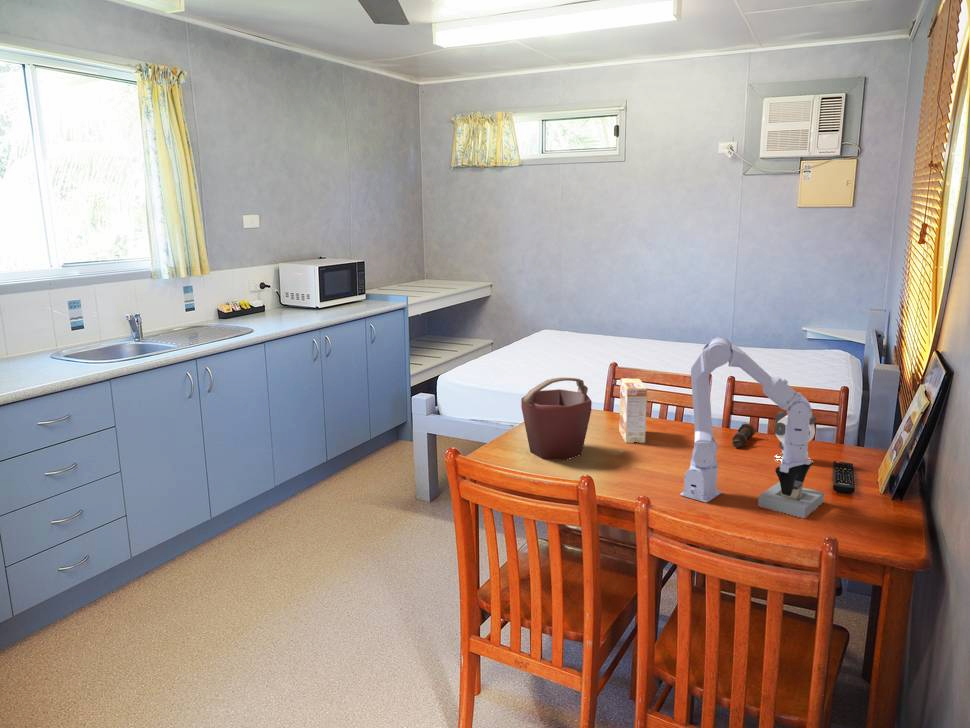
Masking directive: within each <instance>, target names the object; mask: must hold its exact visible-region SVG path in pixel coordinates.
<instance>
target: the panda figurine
mask: <svg viewBox="0 0 970 728" xmlns="http://www.w3.org/2000/svg"><path fill="white" fill-rule="evenodd" d="M787 417H788V415H787V413H785V412H784V411H779V412H778V413H776V414H775V415H774V420H775V421H776V422H777V423H776V424H775V426H774V434H775V436H776V438H777V439H778V440H779V444H778V447H779V448H780V450H781V454H782V456H783V452H784V441H785V429H786V424H787ZM809 420H810V423H809V438H808V443H809V442H811V441H812V440H813V439H814V437H815V433H816V428H815V423H817V417H816V416H813V415H812V416H811V418H810V419H809ZM777 455H778V454H776V455H774V457H776V458H780V457H781V456H777ZM781 458H782V457H781ZM808 459H811V458H810V457H808ZM776 460H777V461H778V460H780V461H781V463H782V459H776ZM776 460H775V461H776ZM777 461H776V462H777ZM812 462H813V463H814V460H813V461H812ZM781 463H780V464H781Z"/></svg>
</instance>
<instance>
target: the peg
mask: <svg viewBox="0 0 970 728" xmlns="http://www.w3.org/2000/svg"><path fill="white" fill-rule="evenodd" d="M803 484H804V482H800V481H795V482H794V486H793V490H792V494H791V496H787V495H783V494H782V491H781V496H783V497H787V498H791V499H794V500H798V501H800V500H801V499H802V488H803V486H804V485H803Z"/></svg>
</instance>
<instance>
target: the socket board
mask: <svg viewBox="0 0 970 728" xmlns="http://www.w3.org/2000/svg"><path fill="white" fill-rule="evenodd" d="M824 498H825V492H824V491H819V490H815V489H811V488H807V487H803V488H802V499H801V500H800V501H798V500H794V499H791V498H787V497H783V496H781V485H780V481H778V482H777V483H775V484H774V485H772V486H771V487H769V488H768V489H767V490H765V491H763V492H762V493H761V494H759V495H758V501H757V502H758V503H757V507H759V506H760V508H762V507H763V508H762V509H766V508H767V509H766V510H770V509H771V510H770V511H773V510H774V512H777V511H779V512H778V513H781V512H783V513H782V514H784V513H786V514H785V515H788V514H790V515H789V516H791V515H794V516H793V517H795V516H797V517H796V518H799V517H801V518H800V519H802V518H805V517H806V516H807V515H808V516H809V515H811V514H810V513H811V512H812V511H813V510H814V511H815V510H817V509H818V508H819V507H820V506H821V505H823V504H824V500H825V499H824ZM822 503H823V504H822ZM819 505H820V506H819ZM818 506H819V507H818ZM817 507H818V508H817ZM816 508H817V509H816ZM814 511H813V512H814ZM813 512H812V513H813ZM808 516H807V517H808ZM807 517H806V518H807ZM806 518H805V519H806Z"/></svg>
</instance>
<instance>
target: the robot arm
mask: <svg viewBox="0 0 970 728" xmlns="http://www.w3.org/2000/svg"><path fill="white" fill-rule="evenodd" d="M727 363H728V367H730V368H731V367H732V368H740V369H741V370H742V371H743V372H744V373H746V374H747V375H748V376H750V377H751V378H752V379H753V380H755V381H756V382H757V383H759V385H761V386H762V393H763V394H764V395H765V396H766V397H767V398H768V399H769V400H771V401H772V402H773V403H774V404H776V405H777V406H778V407H779V408H781V410H784V411H786V416H787V415H788V417H787V424H786V429H785V441H784V452H783V456H782V463H779V464H780V465H779V466H777V467H776V468H775V470H774V471H775V474H776V476H777V477H778V480H779V481H778V482H780V485H781V491H782V494H783V495H787V496H791V494H792V490H793V486H794V482H795V481H800V482H803V483H805V482H804V481H805V478H806V476H807V474H808V473H809V469H810V468H811V467H812V465H813V464H812V462H811V460H807V459H808V458H809V452H808V449H809V447H808V446H809V442H808V438H809V423H810V420H809V419H810V418H811V416H813V412H812V410H813V409H812V407H811V404H810V401H809V400H808V399H807V397H806V396H803V394H802V393H801V392H800V391H798V392H797V391H796V390H795V389H794V388H793V387H791V386H790V385H789V382H788V380H787V379H786V378H783V379H782V378H781V377H779V376H776V377H775V376H771V375H770V374H768V372H767V371H765V370H764V369H763V368H762V367H761V365H759V364H758V363H757V362H756V361H754V359H752V358H751V357H750V356H749V355H748V354H747V353H746V352H745V351H743V350H742V349H741V348H740V347H739V346H737V345H735V344H734V343H732V342H730V340H729V339H728V338H725V337H724V336H717V337H714V338H712V339H711V340H709V341H708V342H707V343H706V344H704V346H703V348H702V350H701V351H700V353H699V354H698V356H697V357H696V359H694V362H693V363H692V366H691V368H690V378H691V393H692V395H691V396H692V408H693V411H692V412H693V424H694V443H693V444H694V446H693V450H692V453H691V459H690V466H689V469H687V471H686V472H685V473H684V478H683V479H684V480H683V491H682V492H680V494H679V495H680V496H682V497H684V498H685V497H686V498H689V499H693V500H696V501H700V502H702V503H703V502H704V503H708V502H710V501H711V500H714V499H715V498H717V497H718V496H720V495H721V494H722V493H723V491H721V490H717V485H718V484H717V482H718V468H719V467H718V465H719V462H718V460H716V459H717V452H718V443H717V441H716V439H715V438H714V430H713V423H712V422H713V421H712V406H711V405H712V404H711V389H710V375H711V374H712V373H713V372H714V371H715V370H716V369H718V368H719V367H722V366H724V365H726V364H727Z"/></svg>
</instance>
